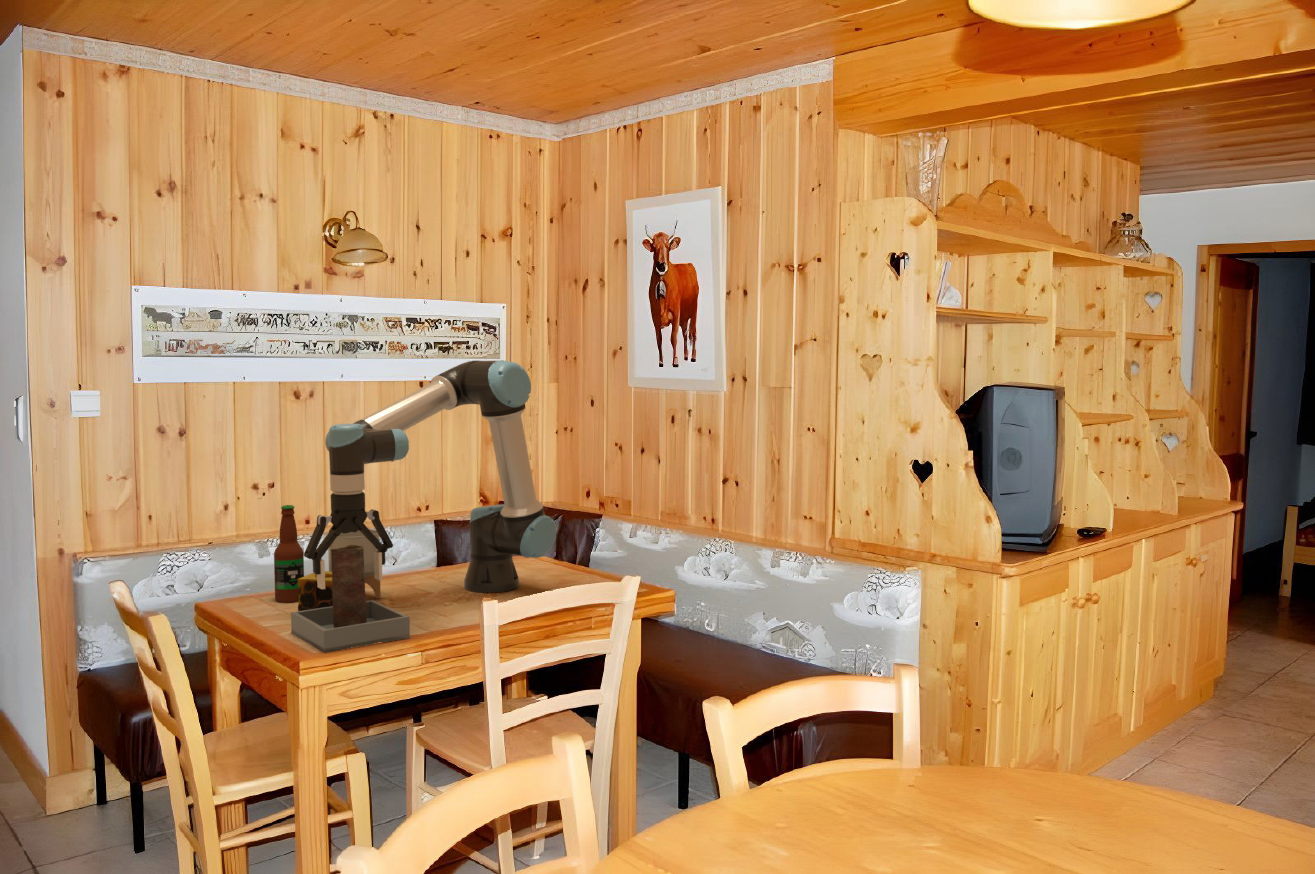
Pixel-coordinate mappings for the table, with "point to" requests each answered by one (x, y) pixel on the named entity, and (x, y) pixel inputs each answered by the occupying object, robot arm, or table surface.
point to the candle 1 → (314, 592)
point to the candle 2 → (348, 586)
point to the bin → (350, 627)
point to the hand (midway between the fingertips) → (350, 583)
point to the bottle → (288, 559)
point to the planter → (369, 549)
